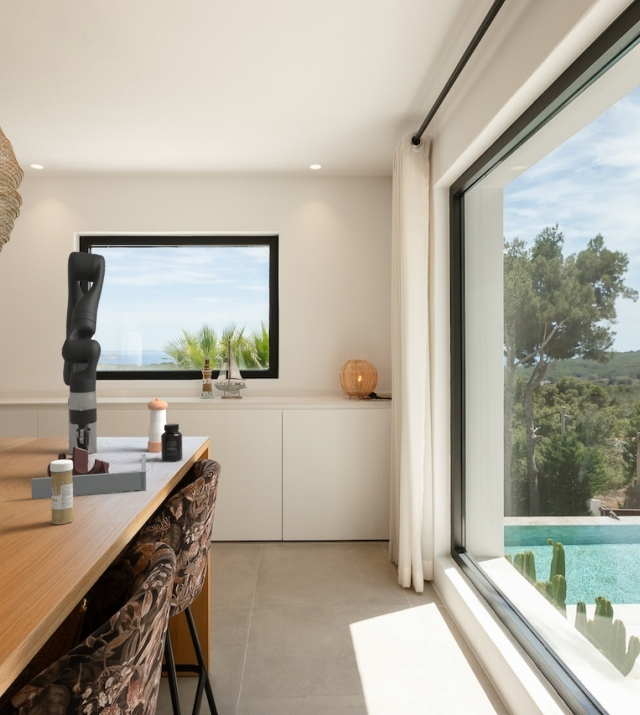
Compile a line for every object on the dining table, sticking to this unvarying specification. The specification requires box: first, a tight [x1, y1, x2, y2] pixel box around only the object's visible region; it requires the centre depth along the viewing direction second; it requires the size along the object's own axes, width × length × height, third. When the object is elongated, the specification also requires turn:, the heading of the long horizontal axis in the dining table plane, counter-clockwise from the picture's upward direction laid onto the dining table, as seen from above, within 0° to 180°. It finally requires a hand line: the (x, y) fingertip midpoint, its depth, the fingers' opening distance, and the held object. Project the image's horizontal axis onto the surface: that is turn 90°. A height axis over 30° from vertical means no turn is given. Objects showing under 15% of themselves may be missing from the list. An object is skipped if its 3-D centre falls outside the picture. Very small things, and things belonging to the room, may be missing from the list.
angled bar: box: [30, 453, 147, 500], centre depth 160 cm, size 25×28×5 cm
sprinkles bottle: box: [49, 459, 74, 525], centre depth 125 cm, size 5×5×13 cm
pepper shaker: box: [147, 397, 169, 453], centre depth 208 cm, size 7×7×19 cm
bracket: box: [46, 447, 110, 477], centre depth 162 cm, size 6×17×10 cm, turn 81°
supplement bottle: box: [160, 423, 183, 462], centre depth 191 cm, size 7×7×12 cm
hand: (84, 464), depth 170 cm, fingers closed
